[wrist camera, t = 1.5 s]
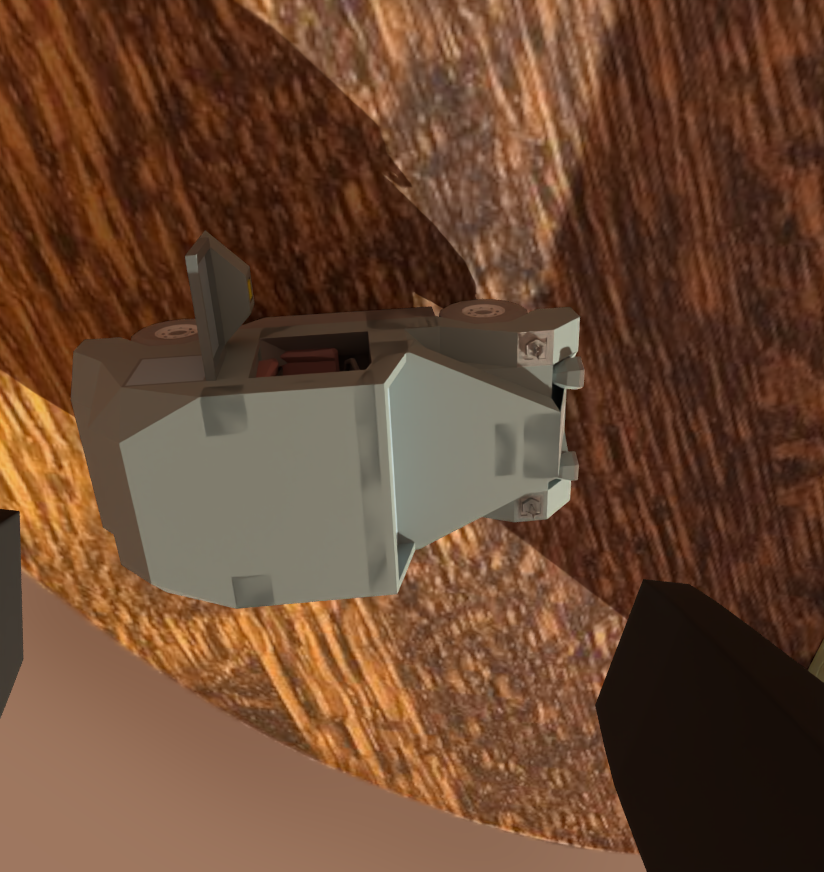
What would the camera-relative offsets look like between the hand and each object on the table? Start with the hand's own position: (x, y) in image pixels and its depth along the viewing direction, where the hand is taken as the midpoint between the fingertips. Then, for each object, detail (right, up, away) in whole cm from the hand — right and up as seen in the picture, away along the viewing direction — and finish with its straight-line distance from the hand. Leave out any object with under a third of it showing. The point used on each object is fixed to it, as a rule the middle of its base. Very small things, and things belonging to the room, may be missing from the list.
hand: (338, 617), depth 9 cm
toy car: (-1, +4, +9) cm, 10 cm away
